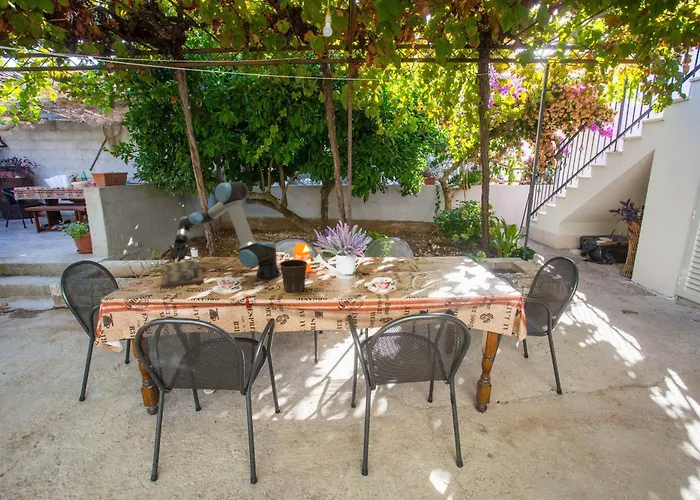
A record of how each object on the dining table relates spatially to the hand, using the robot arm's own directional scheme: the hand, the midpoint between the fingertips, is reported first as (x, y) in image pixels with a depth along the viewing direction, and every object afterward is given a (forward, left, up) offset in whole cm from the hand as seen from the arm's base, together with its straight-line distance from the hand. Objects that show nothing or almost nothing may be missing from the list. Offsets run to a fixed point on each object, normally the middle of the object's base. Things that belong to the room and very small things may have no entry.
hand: (175, 268), depth 233 cm
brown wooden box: (+2, -4, -8) cm, 9 cm away
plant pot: (-46, -65, -8) cm, 80 cm away
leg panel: (-6, -3, -6) cm, 9 cm away
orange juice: (-12, -80, -8) cm, 81 cm away
